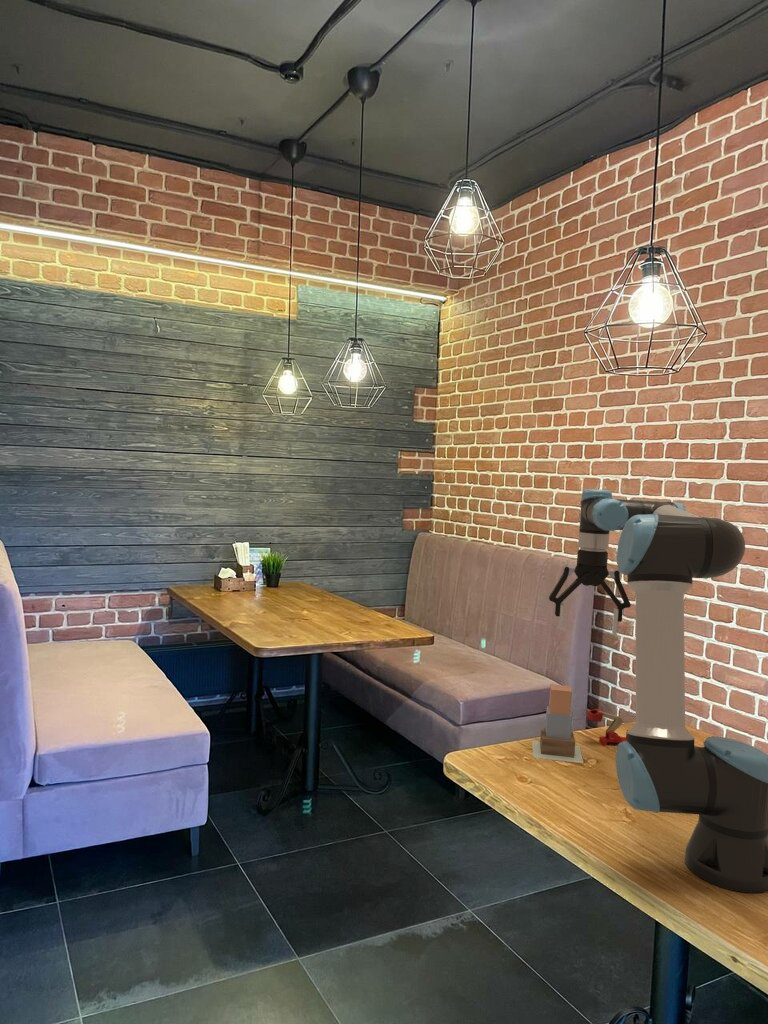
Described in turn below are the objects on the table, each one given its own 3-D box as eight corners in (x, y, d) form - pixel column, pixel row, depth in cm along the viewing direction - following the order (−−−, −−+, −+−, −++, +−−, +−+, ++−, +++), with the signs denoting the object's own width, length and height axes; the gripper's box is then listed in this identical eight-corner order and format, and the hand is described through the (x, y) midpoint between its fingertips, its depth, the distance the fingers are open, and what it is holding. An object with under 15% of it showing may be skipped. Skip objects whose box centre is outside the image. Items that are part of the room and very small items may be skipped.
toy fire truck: (640, 750, 198) (643, 714, 197) (589, 748, 197) (591, 712, 196) (635, 745, 201) (638, 710, 201) (584, 744, 200) (587, 708, 200)
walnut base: (574, 757, 187) (575, 741, 187) (541, 754, 188) (542, 738, 188) (571, 746, 195) (572, 731, 195) (540, 742, 196) (541, 727, 196)
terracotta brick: (570, 715, 188) (571, 691, 188) (549, 713, 189) (551, 689, 189) (568, 709, 193) (570, 686, 193) (548, 707, 194) (550, 684, 194)
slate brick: (570, 739, 188) (572, 716, 188) (546, 737, 189) (547, 713, 189) (569, 731, 194) (570, 708, 194) (545, 729, 195) (546, 706, 195)
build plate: (583, 767, 184) (583, 763, 184) (533, 761, 186) (533, 757, 186) (579, 749, 196) (579, 746, 196) (531, 744, 198) (532, 740, 197)
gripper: (641, 551, 195) (635, 632, 197) (542, 544, 199) (537, 624, 201) (646, 554, 188) (639, 638, 189) (543, 547, 192) (538, 629, 193)
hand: (587, 631), depth 195 cm, fingers open, 13 cm apart
